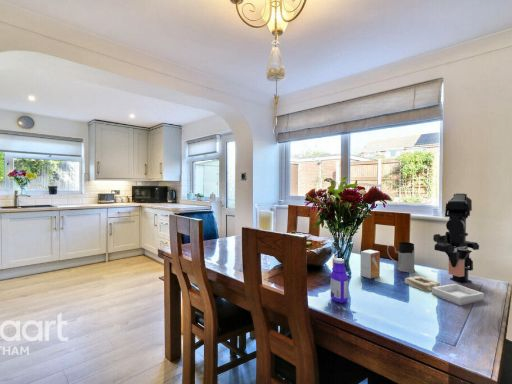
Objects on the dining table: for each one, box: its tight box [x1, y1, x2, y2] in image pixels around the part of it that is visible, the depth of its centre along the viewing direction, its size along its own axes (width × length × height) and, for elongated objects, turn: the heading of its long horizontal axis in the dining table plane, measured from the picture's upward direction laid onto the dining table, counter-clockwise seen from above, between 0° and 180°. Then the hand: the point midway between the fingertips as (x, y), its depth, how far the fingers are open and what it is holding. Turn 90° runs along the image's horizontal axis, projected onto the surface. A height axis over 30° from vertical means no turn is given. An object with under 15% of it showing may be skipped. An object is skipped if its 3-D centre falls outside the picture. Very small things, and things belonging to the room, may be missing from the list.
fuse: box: [448, 258, 465, 277], centre depth 117 cm, size 3×5×7 cm
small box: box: [359, 249, 381, 279], centre depth 145 cm, size 8×6×13 cm
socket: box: [404, 275, 442, 292], centre depth 130 cm, size 9×11×2 cm
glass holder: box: [386, 241, 416, 273], centre depth 156 cm, size 9×14×15 cm, turn 71°
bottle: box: [330, 257, 349, 304], centre depth 115 cm, size 7×6×17 cm
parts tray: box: [431, 283, 485, 306], centre depth 117 cm, size 14×12×3 cm
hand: (456, 266), depth 117 cm, fingers closed on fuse, 3 cm apart
